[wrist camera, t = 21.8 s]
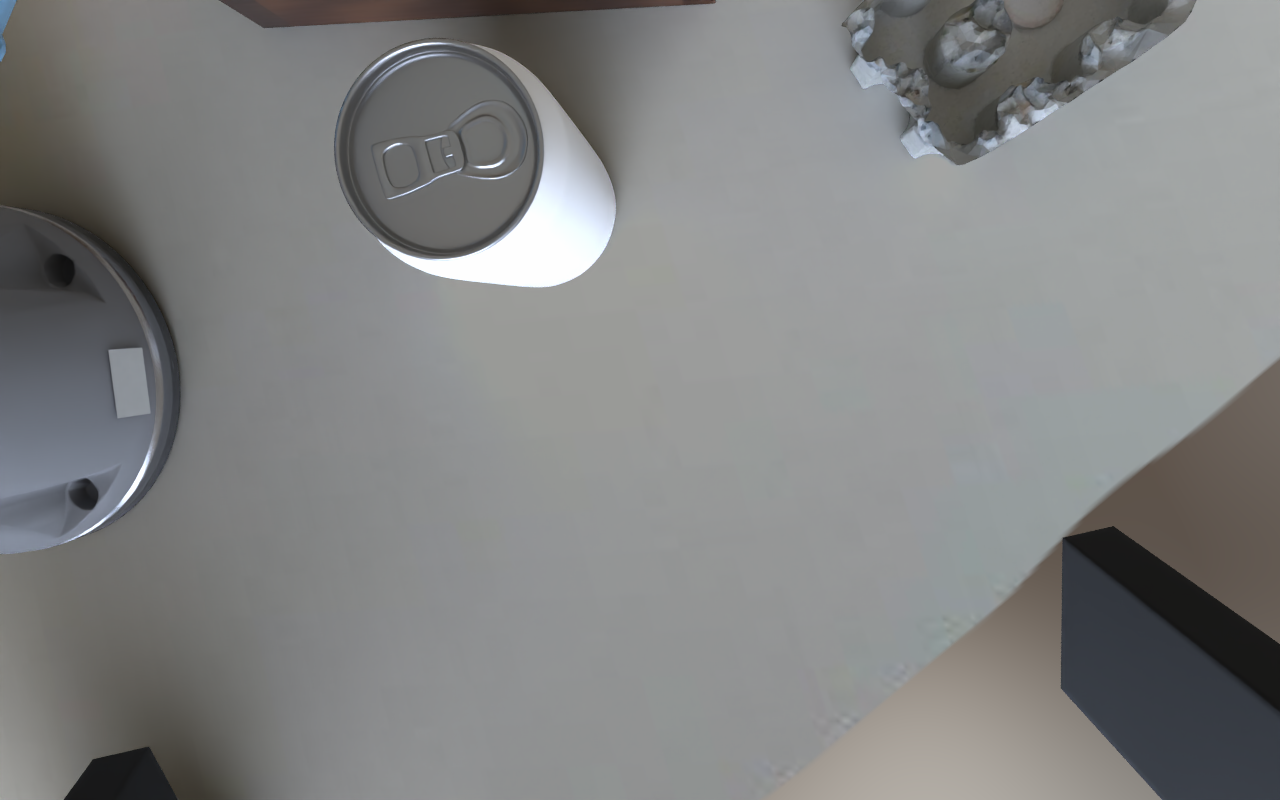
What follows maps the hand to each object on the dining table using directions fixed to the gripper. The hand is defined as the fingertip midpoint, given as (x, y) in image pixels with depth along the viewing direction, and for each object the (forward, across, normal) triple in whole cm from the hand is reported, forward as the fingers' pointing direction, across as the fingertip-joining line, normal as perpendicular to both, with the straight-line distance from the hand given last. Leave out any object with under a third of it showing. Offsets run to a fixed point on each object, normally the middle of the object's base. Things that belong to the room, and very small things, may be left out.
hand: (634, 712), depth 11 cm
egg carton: (+22, +18, +8) cm, 29 cm away
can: (+24, 0, +5) cm, 25 cm away
